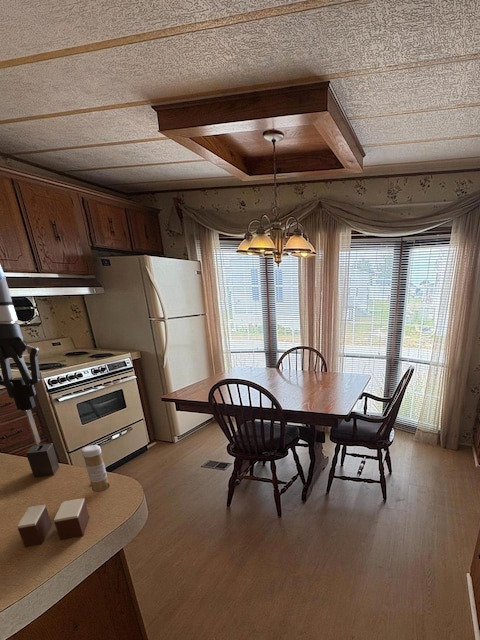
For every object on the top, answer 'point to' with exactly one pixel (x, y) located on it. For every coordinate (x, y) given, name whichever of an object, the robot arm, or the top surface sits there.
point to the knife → (25, 406)
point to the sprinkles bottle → (95, 467)
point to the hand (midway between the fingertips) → (26, 407)
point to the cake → (71, 519)
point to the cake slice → (34, 525)
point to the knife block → (42, 460)
